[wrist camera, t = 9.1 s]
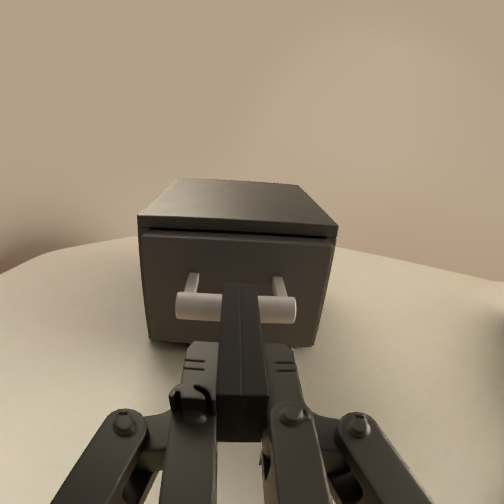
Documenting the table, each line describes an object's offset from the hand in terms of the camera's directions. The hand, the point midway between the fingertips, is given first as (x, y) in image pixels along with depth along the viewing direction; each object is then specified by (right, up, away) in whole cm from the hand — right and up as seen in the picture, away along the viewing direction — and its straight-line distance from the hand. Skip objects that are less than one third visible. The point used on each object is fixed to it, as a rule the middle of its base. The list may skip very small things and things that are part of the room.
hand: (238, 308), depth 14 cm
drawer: (-1, -2, +10) cm, 10 cm away
